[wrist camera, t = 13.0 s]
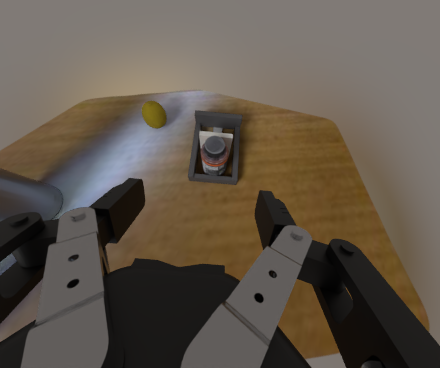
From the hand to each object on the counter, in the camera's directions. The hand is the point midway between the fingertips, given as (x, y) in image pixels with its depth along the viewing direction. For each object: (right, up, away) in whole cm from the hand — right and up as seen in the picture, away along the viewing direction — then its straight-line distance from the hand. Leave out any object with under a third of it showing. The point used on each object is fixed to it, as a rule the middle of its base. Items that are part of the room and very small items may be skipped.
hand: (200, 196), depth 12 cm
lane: (0, +9, +33) cm, 34 cm away
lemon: (-15, +17, +35) cm, 42 cm away
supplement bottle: (0, +5, +32) cm, 32 cm away
